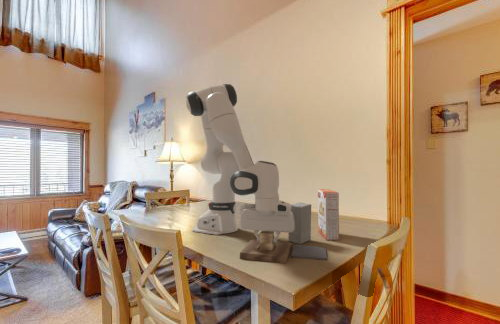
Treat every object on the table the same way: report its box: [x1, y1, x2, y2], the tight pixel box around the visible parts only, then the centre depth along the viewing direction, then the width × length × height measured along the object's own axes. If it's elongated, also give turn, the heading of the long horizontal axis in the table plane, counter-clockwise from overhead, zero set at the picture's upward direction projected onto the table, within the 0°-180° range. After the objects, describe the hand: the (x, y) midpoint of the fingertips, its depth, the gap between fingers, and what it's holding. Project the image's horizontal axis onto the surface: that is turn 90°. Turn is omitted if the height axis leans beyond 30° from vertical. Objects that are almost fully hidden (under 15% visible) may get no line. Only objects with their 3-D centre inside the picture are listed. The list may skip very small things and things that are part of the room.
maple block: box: [259, 230, 275, 251], centre depth 91 cm, size 4×4×8 cm
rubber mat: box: [291, 244, 328, 261], centre depth 91 cm, size 12×12×1 cm
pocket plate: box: [239, 239, 292, 264], centre depth 91 cm, size 16×16×2 cm
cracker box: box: [317, 188, 340, 241], centre depth 114 cm, size 14×6×21 cm, turn 178°
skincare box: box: [287, 202, 312, 245], centre depth 106 cm, size 8×7×16 cm
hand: (267, 242), depth 91 cm, fingers closed on maple block, 4 cm apart
